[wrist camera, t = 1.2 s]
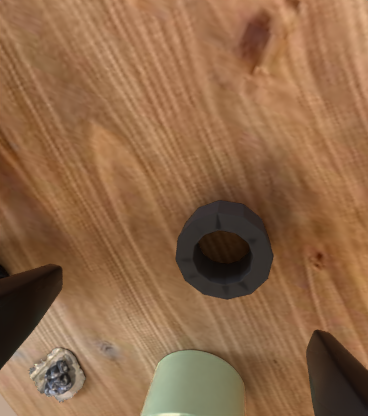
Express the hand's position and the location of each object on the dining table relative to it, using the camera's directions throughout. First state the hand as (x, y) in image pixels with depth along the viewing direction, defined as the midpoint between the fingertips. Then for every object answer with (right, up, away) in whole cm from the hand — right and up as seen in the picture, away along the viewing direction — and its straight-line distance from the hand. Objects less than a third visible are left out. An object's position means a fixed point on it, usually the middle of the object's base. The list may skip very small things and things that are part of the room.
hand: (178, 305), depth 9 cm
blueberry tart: (-15, -16, +22) cm, 31 cm away
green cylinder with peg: (+2, -15, +18) cm, 24 cm away
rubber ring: (+4, +1, +12) cm, 13 cm away
